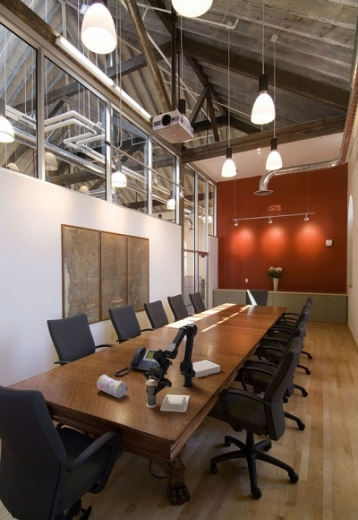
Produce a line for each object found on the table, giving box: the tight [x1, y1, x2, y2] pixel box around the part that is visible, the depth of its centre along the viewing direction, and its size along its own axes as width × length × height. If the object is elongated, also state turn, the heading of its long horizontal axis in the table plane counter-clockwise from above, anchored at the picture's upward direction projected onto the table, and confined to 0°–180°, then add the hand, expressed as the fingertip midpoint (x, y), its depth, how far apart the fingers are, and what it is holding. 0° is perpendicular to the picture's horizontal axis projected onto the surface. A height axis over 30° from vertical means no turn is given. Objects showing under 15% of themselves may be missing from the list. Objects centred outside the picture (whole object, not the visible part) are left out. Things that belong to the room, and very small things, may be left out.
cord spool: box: [145, 379, 159, 409], centre depth 154 cm, size 6×6×13 cm
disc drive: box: [192, 358, 223, 379], centre depth 205 cm, size 18×22×5 cm
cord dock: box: [159, 394, 191, 413], centre depth 155 cm, size 17×14×4 cm
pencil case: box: [96, 374, 128, 399], centre depth 170 cm, size 21×9×10 cm, turn 53°
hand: (150, 393), depth 153 cm, fingers closed on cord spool, 5 cm apart
